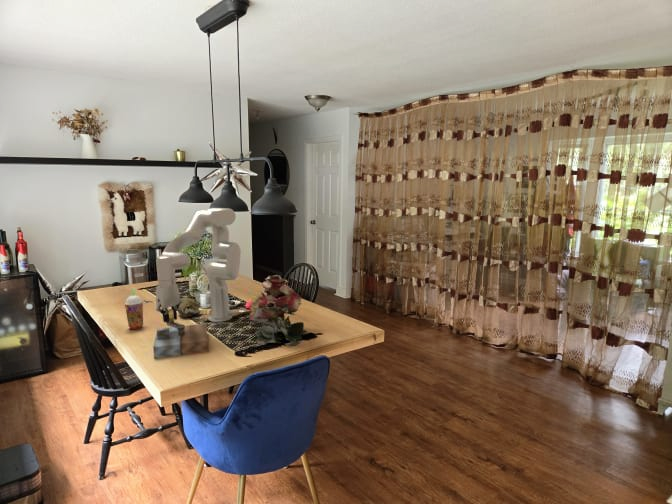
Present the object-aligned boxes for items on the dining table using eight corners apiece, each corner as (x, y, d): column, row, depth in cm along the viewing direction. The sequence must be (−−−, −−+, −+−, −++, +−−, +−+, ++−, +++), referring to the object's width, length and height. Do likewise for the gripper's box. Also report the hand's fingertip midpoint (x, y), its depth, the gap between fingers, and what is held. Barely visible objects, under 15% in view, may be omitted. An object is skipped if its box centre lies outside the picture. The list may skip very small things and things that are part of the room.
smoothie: (125, 331, 210) (121, 292, 207) (129, 325, 218) (125, 288, 215) (143, 329, 213) (140, 291, 209) (146, 324, 220) (143, 287, 217)
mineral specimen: (203, 317, 231) (202, 299, 230) (179, 320, 226) (177, 303, 224) (199, 310, 244) (198, 293, 243) (175, 313, 238) (174, 296, 237)
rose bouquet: (304, 324, 217) (303, 268, 212) (302, 346, 188) (300, 281, 183) (254, 325, 216) (252, 269, 211) (244, 348, 188) (241, 282, 183)
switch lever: (186, 327, 191) (185, 312, 190) (179, 329, 188) (178, 314, 187) (171, 323, 198) (170, 308, 196) (164, 325, 195) (163, 310, 193)
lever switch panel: (206, 333, 207) (205, 315, 205) (208, 351, 184) (207, 332, 183) (158, 338, 200) (156, 321, 198) (154, 358, 177) (152, 338, 176)
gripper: (176, 277, 200) (179, 314, 204) (145, 285, 186) (149, 325, 189) (187, 279, 197) (190, 316, 200) (156, 287, 183) (160, 327, 186)
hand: (170, 320), depth 195 cm, fingers closed on switch lever, 3 cm apart
